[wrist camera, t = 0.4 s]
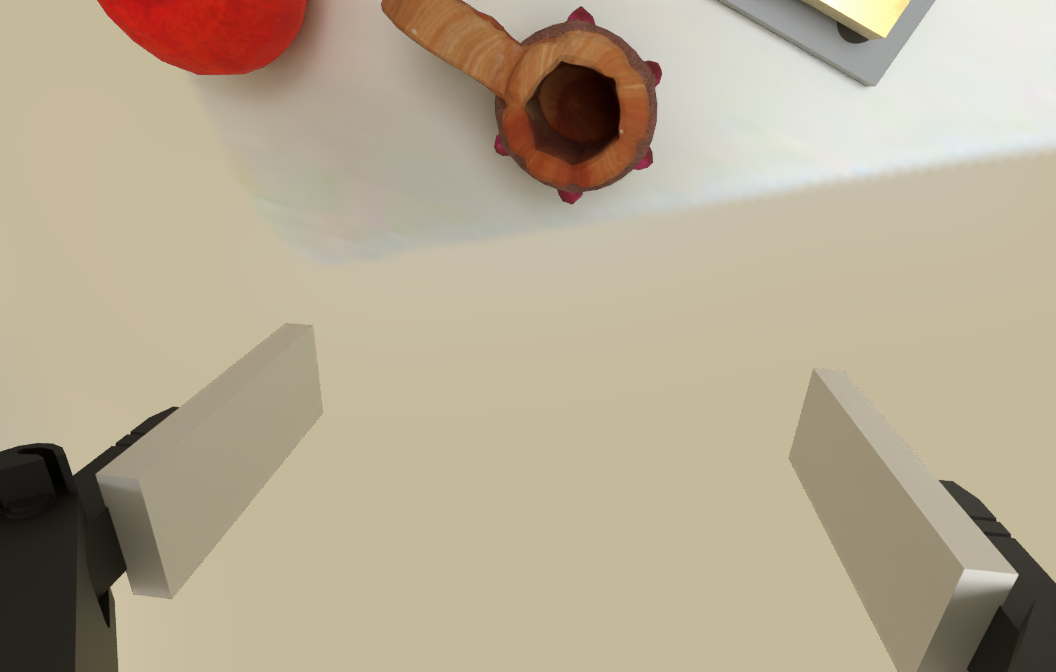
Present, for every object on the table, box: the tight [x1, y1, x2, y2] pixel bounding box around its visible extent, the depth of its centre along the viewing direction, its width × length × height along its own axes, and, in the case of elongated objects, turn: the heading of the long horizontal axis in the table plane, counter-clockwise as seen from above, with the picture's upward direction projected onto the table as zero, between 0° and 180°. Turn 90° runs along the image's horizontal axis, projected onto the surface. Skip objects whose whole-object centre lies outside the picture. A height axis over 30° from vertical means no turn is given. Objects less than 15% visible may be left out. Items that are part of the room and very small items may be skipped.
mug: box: [381, 0, 662, 204], centre depth 31 cm, size 15×8×15 cm, turn 57°
